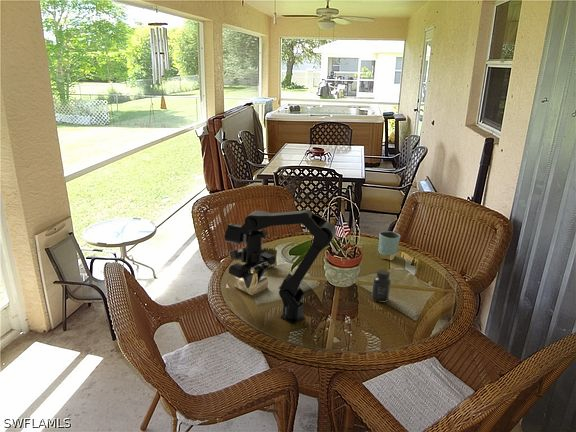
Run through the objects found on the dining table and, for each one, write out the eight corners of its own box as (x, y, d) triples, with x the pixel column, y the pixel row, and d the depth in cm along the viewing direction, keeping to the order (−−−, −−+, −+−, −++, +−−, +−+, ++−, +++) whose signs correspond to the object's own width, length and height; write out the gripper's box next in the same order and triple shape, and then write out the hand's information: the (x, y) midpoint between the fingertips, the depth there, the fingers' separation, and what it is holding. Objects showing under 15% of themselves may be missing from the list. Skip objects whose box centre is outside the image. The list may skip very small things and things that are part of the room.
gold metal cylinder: (259, 289, 154) (260, 272, 152) (251, 293, 151) (252, 275, 149) (251, 285, 156) (252, 268, 154) (243, 289, 153) (244, 272, 151)
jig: (267, 287, 171) (268, 277, 170) (252, 295, 164) (252, 284, 163) (250, 279, 177) (250, 269, 175) (234, 286, 170) (234, 275, 169)
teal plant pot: (376, 259, 206) (379, 236, 202) (375, 251, 215) (379, 229, 211) (397, 262, 205) (401, 239, 201) (395, 253, 214) (399, 232, 210)
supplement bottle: (391, 299, 169) (395, 272, 165) (382, 305, 164) (386, 277, 161) (376, 292, 174) (380, 266, 170) (367, 298, 169) (371, 271, 165)
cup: (274, 271, 185) (275, 255, 183) (258, 269, 187) (258, 252, 184) (277, 264, 192) (278, 248, 190) (262, 262, 194) (263, 246, 191)
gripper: (255, 233, 160) (253, 270, 165) (218, 246, 146) (217, 286, 151) (277, 242, 153) (275, 280, 158) (240, 256, 139) (239, 297, 145)
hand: (251, 285), depth 153 cm, fingers closed on gold metal cylinder, 4 cm apart
